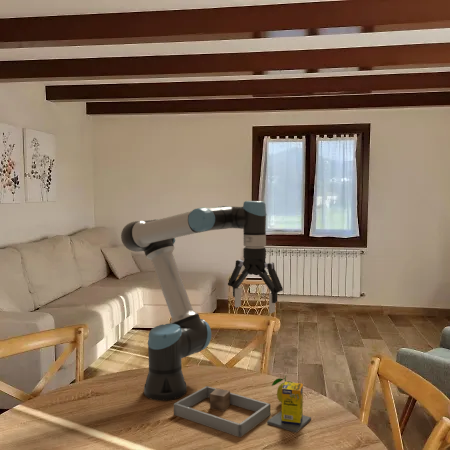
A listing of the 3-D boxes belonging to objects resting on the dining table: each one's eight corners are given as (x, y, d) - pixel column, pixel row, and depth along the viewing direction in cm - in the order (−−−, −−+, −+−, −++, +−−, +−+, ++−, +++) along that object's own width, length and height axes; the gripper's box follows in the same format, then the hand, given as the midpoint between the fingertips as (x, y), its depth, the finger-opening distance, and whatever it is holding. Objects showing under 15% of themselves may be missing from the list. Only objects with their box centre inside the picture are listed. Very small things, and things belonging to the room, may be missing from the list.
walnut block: (210, 408, 164) (210, 393, 163) (216, 402, 168) (216, 388, 168) (223, 411, 162) (223, 396, 161) (230, 405, 166) (230, 390, 166)
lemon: (271, 405, 166) (271, 376, 165) (280, 399, 171) (280, 370, 170) (289, 410, 162) (289, 380, 161) (297, 404, 167) (297, 375, 166)
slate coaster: (267, 423, 153) (267, 421, 153) (282, 411, 161) (282, 409, 161) (296, 432, 147) (296, 430, 147) (310, 419, 155) (310, 417, 155)
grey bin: (173, 414, 159) (173, 403, 159) (206, 395, 174) (206, 385, 173) (240, 437, 145) (240, 425, 144) (270, 414, 159) (270, 403, 159)
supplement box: (300, 425, 150) (300, 390, 149) (281, 423, 151) (281, 388, 151) (303, 417, 155) (303, 383, 155) (284, 414, 157) (284, 381, 156)
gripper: (217, 245, 170) (218, 306, 171) (282, 250, 156) (281, 317, 157) (230, 243, 176) (230, 302, 178) (293, 248, 162) (292, 312, 163)
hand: (254, 309), depth 167 cm, fingers open, 13 cm apart
